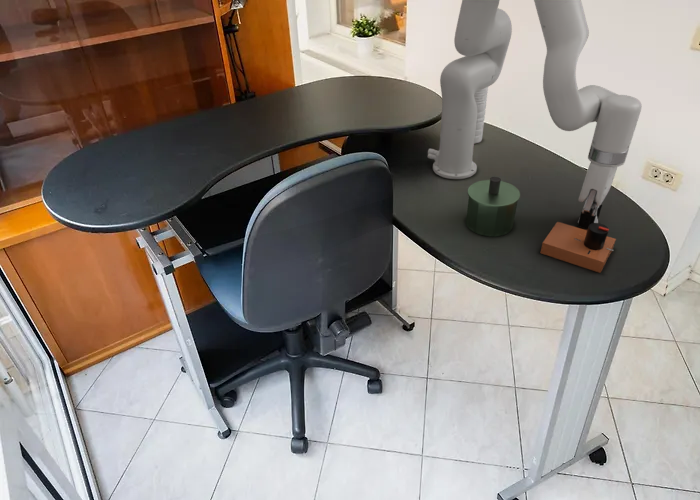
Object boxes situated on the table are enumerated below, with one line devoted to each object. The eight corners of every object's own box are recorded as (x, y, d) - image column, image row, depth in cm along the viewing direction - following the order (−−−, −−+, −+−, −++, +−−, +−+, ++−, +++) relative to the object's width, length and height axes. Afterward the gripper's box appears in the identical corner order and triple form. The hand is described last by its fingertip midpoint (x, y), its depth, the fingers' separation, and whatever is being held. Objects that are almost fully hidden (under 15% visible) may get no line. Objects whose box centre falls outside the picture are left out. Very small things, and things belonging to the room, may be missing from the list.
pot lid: (458, 200, 119) (460, 183, 116) (480, 179, 126) (482, 162, 124) (507, 215, 113) (510, 197, 110) (527, 192, 120) (530, 174, 118)
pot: (458, 227, 124) (461, 197, 118) (477, 207, 131) (481, 178, 125) (501, 242, 118) (506, 211, 113) (519, 219, 125) (525, 190, 120)
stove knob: (581, 246, 110) (586, 228, 107) (586, 237, 113) (591, 219, 110) (600, 252, 108) (606, 234, 106) (605, 243, 111) (611, 225, 108)
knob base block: (540, 253, 114) (542, 242, 112) (554, 231, 120) (557, 220, 118) (603, 274, 107) (607, 262, 105) (615, 250, 114) (619, 239, 112)
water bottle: (469, 145, 159) (478, 65, 144) (457, 138, 164) (464, 60, 149) (491, 139, 162) (502, 60, 147) (478, 132, 167) (487, 55, 152)
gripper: (600, 135, 118) (582, 202, 129) (578, 164, 107) (560, 234, 118) (635, 143, 114) (613, 210, 125) (616, 173, 103) (594, 244, 114)
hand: (588, 221), depth 121 cm, fingers closed on rook chess piece, 4 cm apart
